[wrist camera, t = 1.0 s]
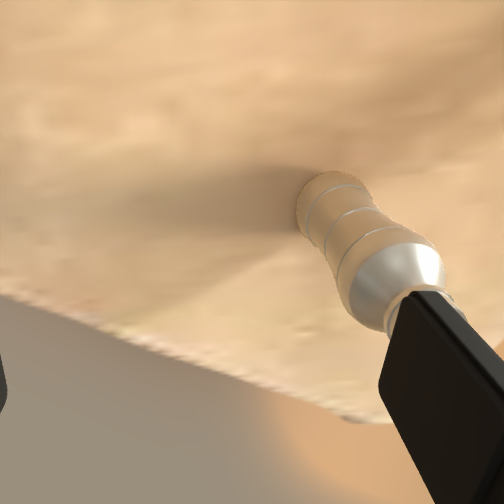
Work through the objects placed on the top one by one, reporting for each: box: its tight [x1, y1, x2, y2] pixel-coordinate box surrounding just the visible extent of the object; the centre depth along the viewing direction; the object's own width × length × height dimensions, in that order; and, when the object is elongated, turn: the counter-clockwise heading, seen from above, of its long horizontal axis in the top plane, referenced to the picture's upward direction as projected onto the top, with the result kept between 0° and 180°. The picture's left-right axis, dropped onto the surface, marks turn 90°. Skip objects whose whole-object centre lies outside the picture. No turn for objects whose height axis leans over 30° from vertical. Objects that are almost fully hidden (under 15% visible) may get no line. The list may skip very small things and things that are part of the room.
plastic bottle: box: [296, 172, 468, 339], centre depth 30 cm, size 6×7×20 cm
